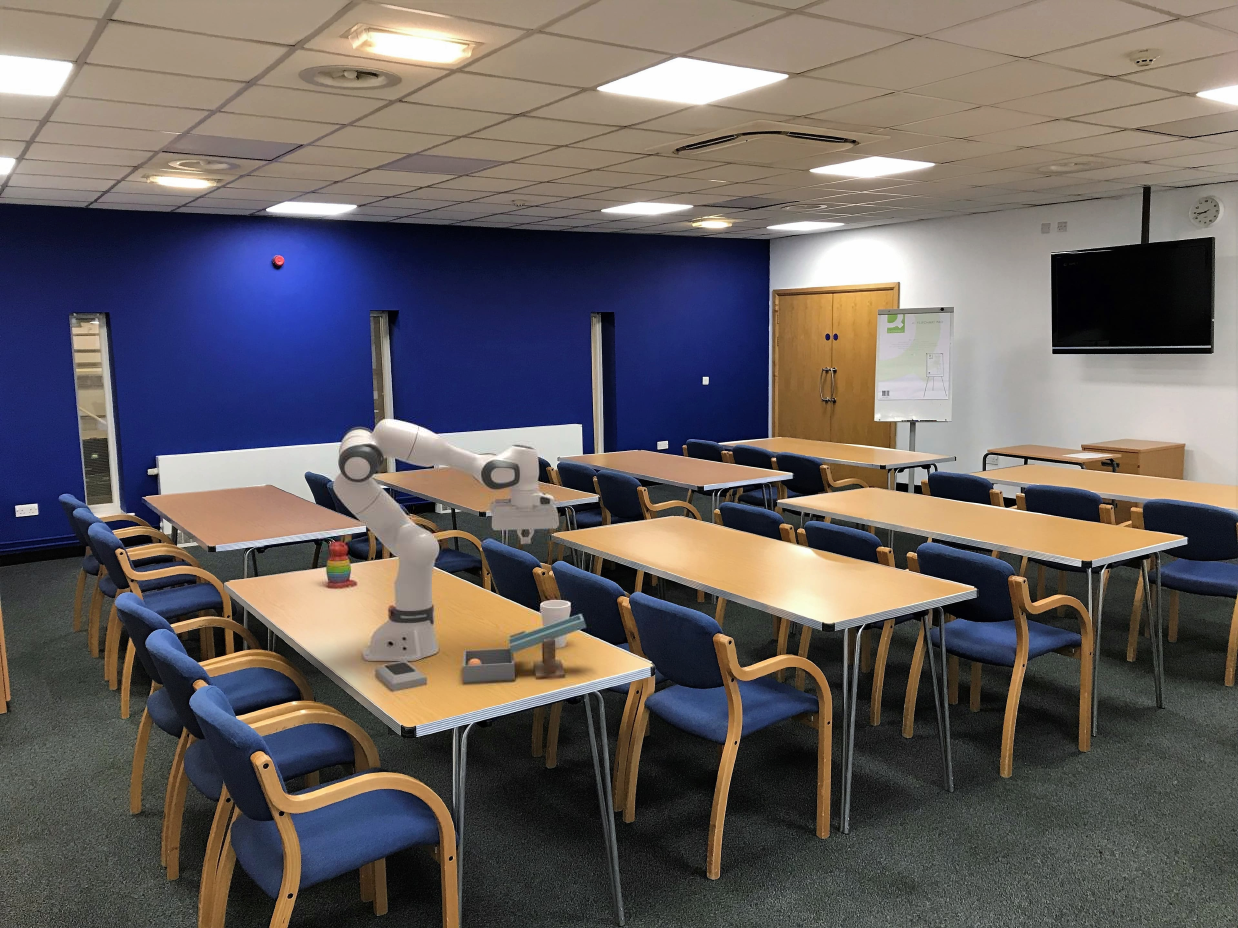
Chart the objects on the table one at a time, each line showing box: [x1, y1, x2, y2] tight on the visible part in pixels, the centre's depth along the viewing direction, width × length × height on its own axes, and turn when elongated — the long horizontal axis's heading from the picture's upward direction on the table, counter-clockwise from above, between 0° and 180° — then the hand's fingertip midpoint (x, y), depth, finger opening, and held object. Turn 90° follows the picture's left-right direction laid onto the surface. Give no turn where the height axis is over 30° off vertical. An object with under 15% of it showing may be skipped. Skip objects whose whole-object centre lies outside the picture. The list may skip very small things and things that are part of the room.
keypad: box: [374, 661, 428, 692], centre depth 258 cm, size 10×4×15 cm
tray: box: [462, 647, 516, 685], centre depth 263 cm, size 14×14×5 cm
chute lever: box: [508, 613, 587, 654], centre depth 267 cm, size 22×13×2 cm, turn 98°
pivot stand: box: [533, 638, 566, 680], centre depth 265 cm, size 8×13×11 cm, turn 9°
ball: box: [468, 659, 482, 665], centre depth 262 cm, size 4×4×4 cm
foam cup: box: [539, 599, 572, 649], centre depth 289 cm, size 10×9×13 cm
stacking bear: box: [325, 541, 358, 589], centre depth 366 cm, size 11×10×18 cm
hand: (525, 543), depth 281 cm, fingers closed
